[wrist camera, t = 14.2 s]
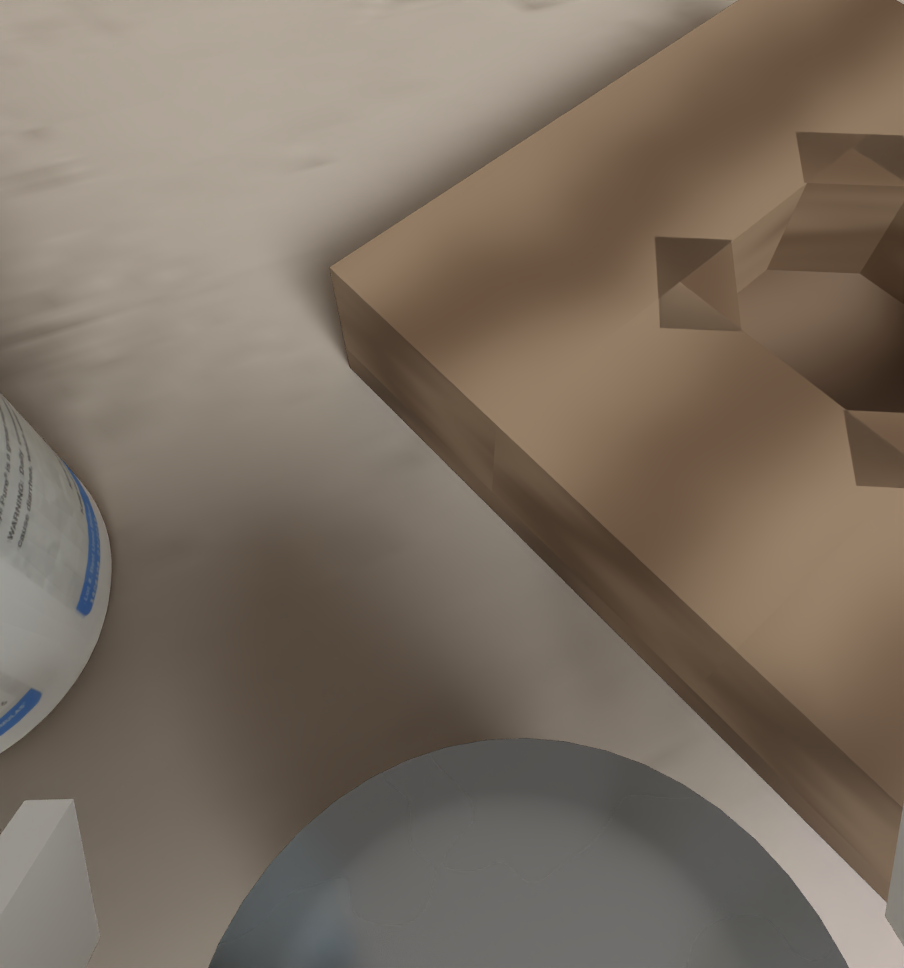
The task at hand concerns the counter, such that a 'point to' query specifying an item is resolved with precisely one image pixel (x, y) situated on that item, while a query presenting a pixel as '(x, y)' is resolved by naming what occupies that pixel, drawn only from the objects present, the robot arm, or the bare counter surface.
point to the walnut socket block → (694, 380)
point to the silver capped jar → (524, 873)
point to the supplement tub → (44, 577)
